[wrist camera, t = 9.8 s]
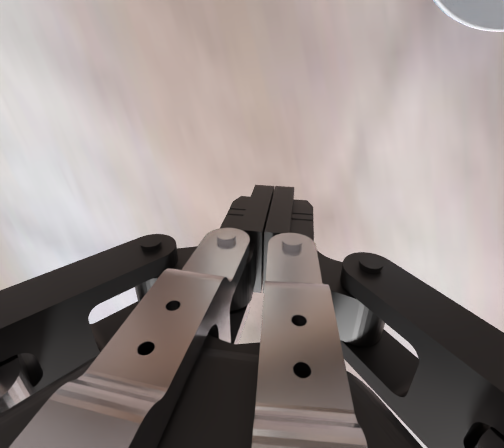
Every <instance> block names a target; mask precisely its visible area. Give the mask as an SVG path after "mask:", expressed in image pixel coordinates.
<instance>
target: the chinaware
mask: <svg viewBox="0 0 504 448" xmlns="http://www.w3.org/2000/svg"><path fill="white" fill-rule="evenodd" d="M433 2H434V3H435V4H436V5H437V6H438V7H439V8H440V9H441V10H442V11H443V12H444V13H445V14H446V15H448V16H449V17H451V18H452V19H454V20H455V21H457V22H459V23H461V24H463V25H466V26H468V27H471V28H475V29H479V30H484V31H494V32H503V31H504V0H433Z"/></svg>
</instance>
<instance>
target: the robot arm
mask: <svg viewBox="0 0 504 448" xmlns="http://www.w3.org/2000/svg"><path fill="white" fill-rule="evenodd" d="M262 285H263V293H264V297H263V310H262V324H261V338H260V343H248V344H239V341H240V338H241V335H242V332H243V329H244V326H245V323H246V320H247V317H248V314H249V311H250V301H251V298H252V294H253V292H258V293H261V290H262ZM133 287H135V289H136V294H137V298H138V302H136V303H134V304H132V305H130V306H128V307H126V308H124V309H122V310H120V311H118V312H116V313H114V314H112V315H110V316H108V317H106V318H104V319H102V320H100V321H98V322H96V323H94V324H89V321H88V316H89V314H90V312H91V310H92V309H93V308H94V307H95V306H96V305H98V304H100V303H102V302H104V301H106V300H108V299H110V298H112V297H114V296H116V295H119V294H121V293H123V292H125V291H127V290H129V289H131V288H133ZM385 323H386V324H387V325H389V326H390V327H391V328H392V329H393V330H395V331H396V332H397V333H398V334H400V335H401V336H402V337H403V338H404V339H406V340H407V341H408V342H409V343H410V344H411V345H412V346H413V347H414V349H415V350H416V352H417V355H418V358H419V359H418V358H417V357H416V356H414V355H413V354H412V353H411V352H410V351H409V350H407V349H406V348H405V347H404V346H403V345H402V344H400V343H399V342H398V341H397V340H396V339H394V338H393V337H392V336H391V335H390V334H389V333H387V332H386V331H385V330H384V329H383V328H384V324H385ZM344 359H345V360H346V361H347V362H348V363H349V364H350V365H351V367H352V368H353V369H354V370H355V371H356V372H357V373H358V374H359V375H360V376H361V377H362V378H363V379H364V380H365V381H366V383H367V384H368V385H369V386H370V387H371V388H372V389H373V390H374V391H375V392H376V393H377V394H378V395H379V396H380V397H381V398H382V400H383V401H384V402H385V403H386V404H387V405H388V406H389V407H390V408H391V409H392V410H393V411H394V412H395V413H396V414H397V415H398V417H399V418H400V419H401V420H402V421H403V422H404V423H405V424H406V425H407V426H408V427H409V428H410V429H411V430H412V431H413V433H414V434H415V435H416V436H417V437H418V438H419V439H420V440H421V441H422V442H423V443H424V444H425V445H426V446H427V447H428V448H504V333H503V332H502V331H500V330H498V329H497V328H495V327H494V326H492V325H491V324H489V323H487V322H486V321H484V320H483V319H481V318H480V317H478V316H476V315H475V314H473V313H472V312H470V311H468V310H467V309H465V308H464V307H462V306H461V305H459V304H457V303H456V302H454V301H453V300H451V299H450V298H448V297H446V296H445V295H443V294H442V293H440V292H438V291H437V290H435V289H434V288H432V287H431V286H429V285H427V284H426V283H424V282H423V281H421V280H420V279H418V278H416V277H415V276H413V275H412V274H410V273H408V272H407V271H405V270H404V269H402V268H401V267H399V266H397V265H396V264H394V263H393V262H391V261H390V260H388V259H386V258H384V257H382V256H379V255H376V254H372V253H365V252H359V253H353V254H350V255H348V256H347V257H345V259H344V261H343V262H339V261H336V260H333V259H330V258H328V257H326V256H324V255H322V254H321V253H319V252H318V251H317V248H316V244H315V243H314V229H313V206H312V205H311V204H310V203H309V202H308V201H307V200H294V187H282V186H275V190H274V186H265V185H255V187H254V190H253V192H252V195H251V197H246V196H241V197H239V198H238V199H236V200H235V201H233V203H232V205H231V207H230V209H229V211H228V213H227V215H226V217H225V219H224V221H223V223H222V225H221V227H220V229H216V230H213V231H211V232H209V233H208V234H206V236H205V237H204V238H203V240H202V241H201V242H200V244H199V245H198V246H196V247H188V248H178V249H177V246H176V241H175V240H174V239H173V238H172V237H170V236H168V235H163V234H152V235H146V236H143V237H140V238H137V239H135V240H132V241H129V242H127V243H124V244H121V245H119V246H116V247H114V248H111V249H108V250H106V251H103V252H100V253H98V254H95V255H93V256H90V257H87V258H85V259H82V260H79V261H77V262H74V263H72V264H69V265H66V266H64V267H61V268H58V269H56V270H53V271H51V272H48V273H45V274H43V275H40V276H37V277H35V278H32V279H30V280H27V281H24V282H22V283H19V284H16V285H14V286H11V287H9V288H6V289H3V290H1V291H0V448H423V447H422V446H421V445H420V444H419V443H418V442H417V441H416V439H415V438H414V437H413V436H412V435H411V434H410V433H409V432H408V430H407V429H406V428H405V427H404V426H403V425H402V424H401V422H400V421H399V420H398V419H397V418H396V417H395V416H394V415H393V413H392V412H391V411H390V410H389V409H388V408H387V407H386V406H385V404H384V403H383V402H382V401H381V400H380V399H379V398H378V396H377V395H376V394H375V393H374V392H373V391H372V390H371V389H370V388H369V387H367V386H366V385H365V384H364V383H363V382H362V381H361V380H359V379H358V378H357V377H355V376H354V375H353V374H351V373H349V372H348V371H346V367H345V362H344Z"/></svg>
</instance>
